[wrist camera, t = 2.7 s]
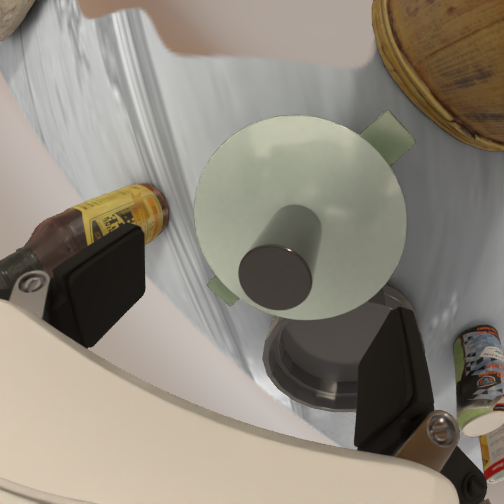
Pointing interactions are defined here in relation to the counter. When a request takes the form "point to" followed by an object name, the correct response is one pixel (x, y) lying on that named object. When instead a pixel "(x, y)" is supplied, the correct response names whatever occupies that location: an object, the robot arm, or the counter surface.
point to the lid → (300, 217)
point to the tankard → (448, 62)
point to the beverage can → (479, 380)
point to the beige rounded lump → (12, 15)
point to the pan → (327, 352)
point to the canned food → (493, 455)
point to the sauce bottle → (86, 229)
